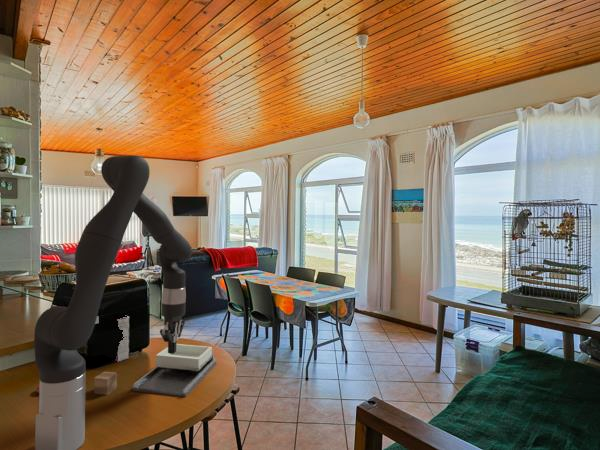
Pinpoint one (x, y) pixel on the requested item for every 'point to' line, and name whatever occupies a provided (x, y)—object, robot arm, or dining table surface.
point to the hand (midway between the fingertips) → (172, 352)
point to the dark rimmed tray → (172, 380)
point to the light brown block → (105, 383)
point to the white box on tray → (184, 357)
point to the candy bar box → (124, 344)
